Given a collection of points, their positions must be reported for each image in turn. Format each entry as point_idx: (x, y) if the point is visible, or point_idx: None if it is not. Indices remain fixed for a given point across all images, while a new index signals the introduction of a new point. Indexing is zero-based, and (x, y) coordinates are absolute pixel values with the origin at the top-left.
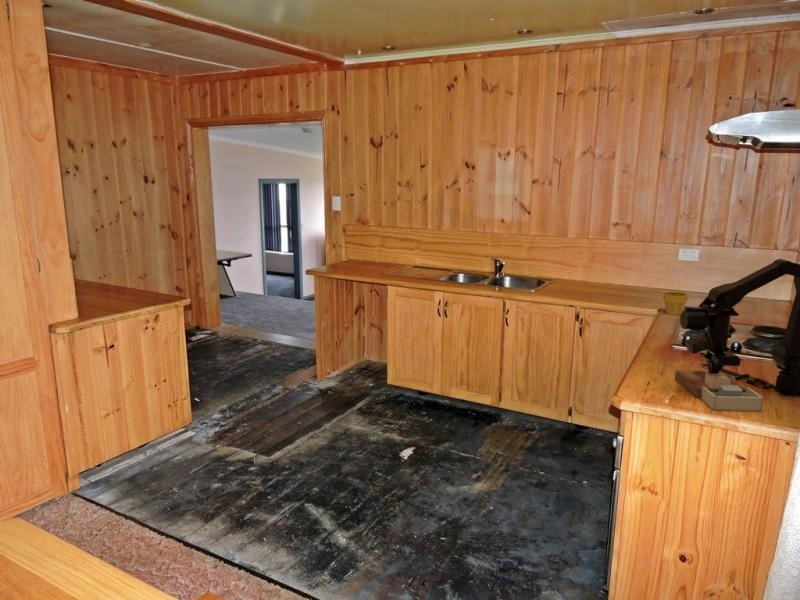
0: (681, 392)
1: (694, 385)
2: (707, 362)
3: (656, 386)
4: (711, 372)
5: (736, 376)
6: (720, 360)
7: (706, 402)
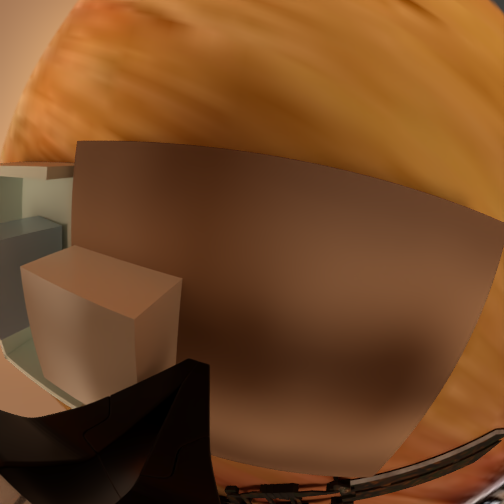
0: (218, 93)
1: (127, 148)
2: (175, 473)
3: (345, 2)
4: (143, 383)
5: (344, 488)
6: None
7: (58, 162)
